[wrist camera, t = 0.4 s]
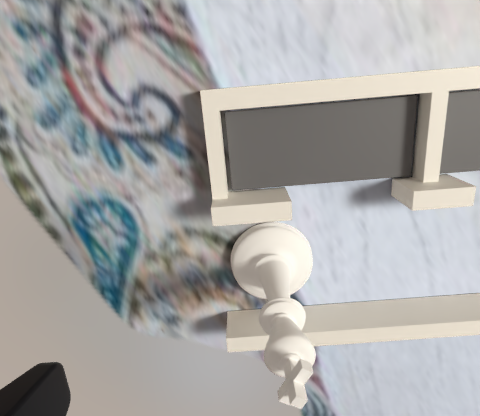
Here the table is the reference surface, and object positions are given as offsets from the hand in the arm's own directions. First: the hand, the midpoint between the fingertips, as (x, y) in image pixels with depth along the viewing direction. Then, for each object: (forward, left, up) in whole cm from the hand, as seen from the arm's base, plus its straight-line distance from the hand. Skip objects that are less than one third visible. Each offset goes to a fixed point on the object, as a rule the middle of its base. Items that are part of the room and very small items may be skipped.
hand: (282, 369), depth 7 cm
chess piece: (-5, -1, -13) cm, 14 cm away
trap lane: (-2, -9, -13) cm, 16 cm away
